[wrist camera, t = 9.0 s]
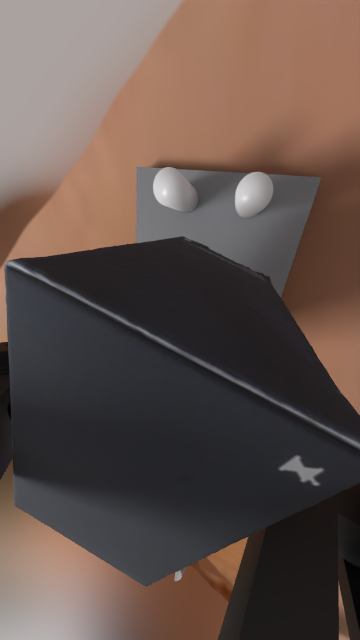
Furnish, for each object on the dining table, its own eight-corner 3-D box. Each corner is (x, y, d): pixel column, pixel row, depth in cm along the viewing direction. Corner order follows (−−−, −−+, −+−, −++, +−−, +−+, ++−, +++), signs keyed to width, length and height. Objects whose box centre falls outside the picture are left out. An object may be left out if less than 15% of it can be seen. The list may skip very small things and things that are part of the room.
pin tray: (314, 181, 15) (362, 151, 9) (246, 387, 24) (250, 436, 18) (144, 171, 18) (100, 142, 12) (140, 360, 27) (115, 396, 21)
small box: (175, 229, 12) (-36, 229, 2) (274, 277, 12) (446, 473, 2) (128, 355, 17) (-1, 512, 7) (197, 390, 17) (153, 596, 7)
